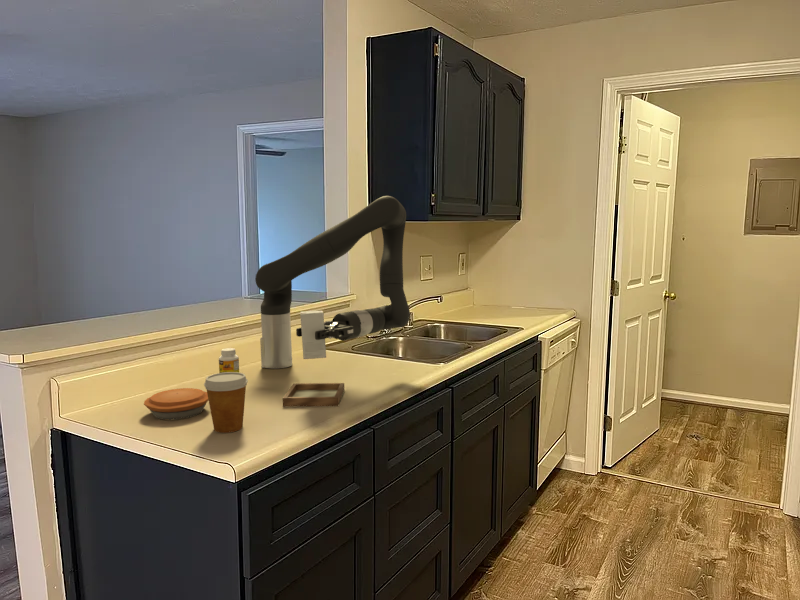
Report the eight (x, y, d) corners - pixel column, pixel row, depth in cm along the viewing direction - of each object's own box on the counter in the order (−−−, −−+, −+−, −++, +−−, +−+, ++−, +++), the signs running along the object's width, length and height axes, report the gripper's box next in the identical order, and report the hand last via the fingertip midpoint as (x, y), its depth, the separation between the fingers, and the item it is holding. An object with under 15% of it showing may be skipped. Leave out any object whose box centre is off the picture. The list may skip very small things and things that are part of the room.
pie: (163, 403, 161) (162, 384, 161) (220, 403, 160) (219, 385, 159) (132, 422, 146) (130, 402, 145) (195, 423, 145) (194, 402, 144)
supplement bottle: (215, 385, 177) (213, 350, 176) (228, 380, 182) (226, 346, 181) (231, 387, 175) (229, 351, 174) (243, 382, 180) (242, 348, 179)
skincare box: (325, 354, 164) (323, 309, 163) (326, 358, 160) (324, 312, 158) (302, 356, 163) (300, 310, 162) (302, 360, 159) (300, 313, 157)
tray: (282, 406, 156) (282, 398, 156) (293, 391, 170) (293, 383, 170) (338, 406, 156) (337, 397, 156) (344, 390, 170) (344, 382, 169)
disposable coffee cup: (258, 423, 144) (255, 373, 142) (234, 437, 135) (231, 383, 133) (223, 419, 147) (220, 370, 145) (197, 433, 138) (194, 380, 136)
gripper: (334, 309, 176) (288, 317, 163) (371, 313, 166) (324, 322, 154) (335, 335, 177) (289, 345, 164) (371, 341, 167) (325, 352, 155)
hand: (306, 334), depth 159 cm, fingers closed on skincare box, 7 cm apart
